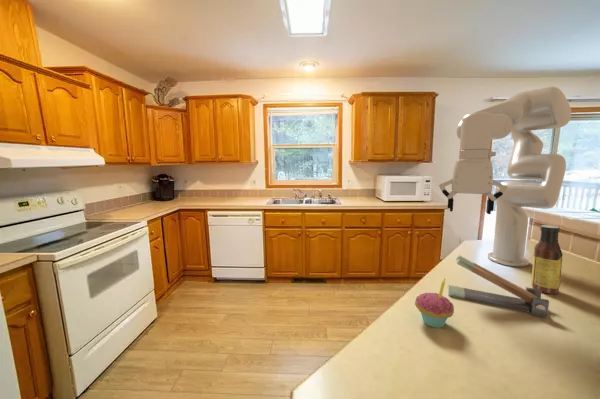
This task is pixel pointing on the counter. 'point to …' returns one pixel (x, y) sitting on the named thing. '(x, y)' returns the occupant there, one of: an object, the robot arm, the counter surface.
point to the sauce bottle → (547, 261)
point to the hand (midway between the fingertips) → (469, 212)
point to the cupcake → (434, 308)
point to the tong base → (504, 300)
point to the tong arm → (495, 279)
